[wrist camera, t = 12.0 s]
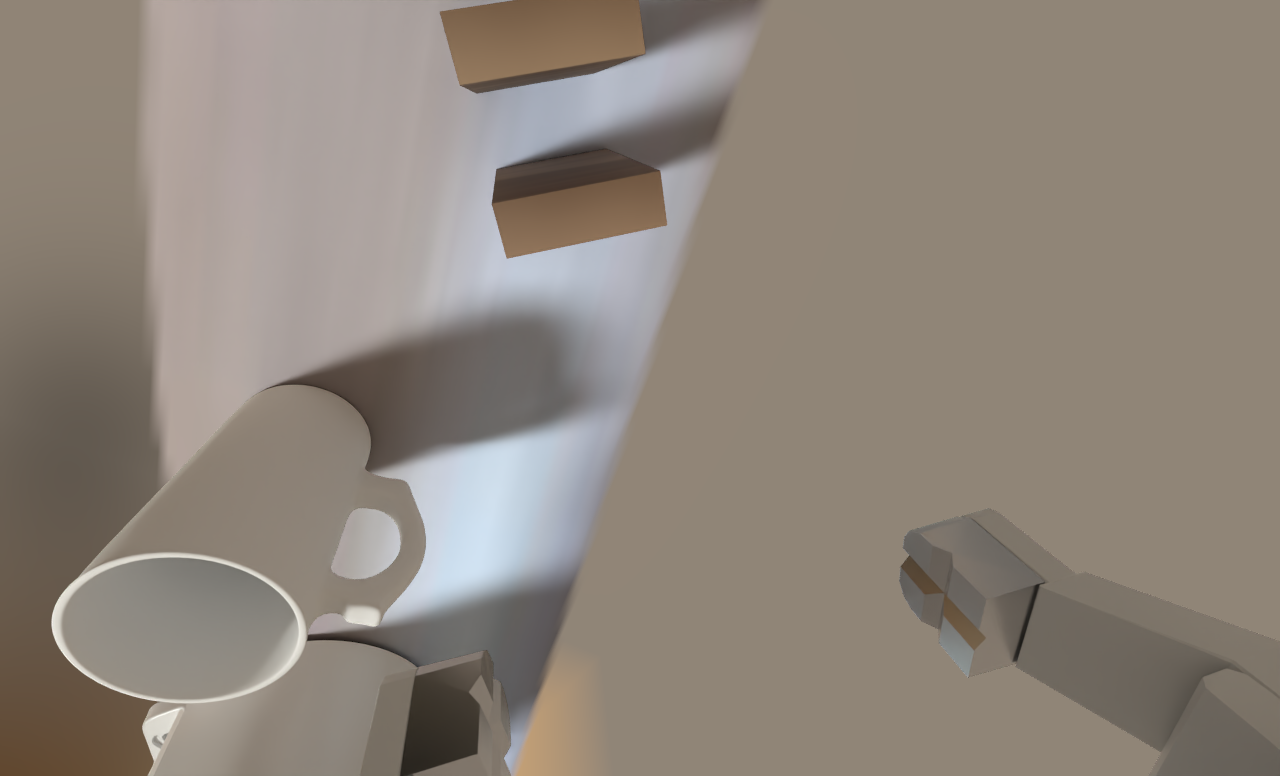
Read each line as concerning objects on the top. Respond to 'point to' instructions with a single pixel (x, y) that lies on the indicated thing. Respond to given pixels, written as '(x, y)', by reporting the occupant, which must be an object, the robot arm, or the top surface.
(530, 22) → the domino
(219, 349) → the top surface
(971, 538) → the robot arm
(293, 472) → the mug
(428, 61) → the top surface
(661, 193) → the domino
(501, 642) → the top surface
